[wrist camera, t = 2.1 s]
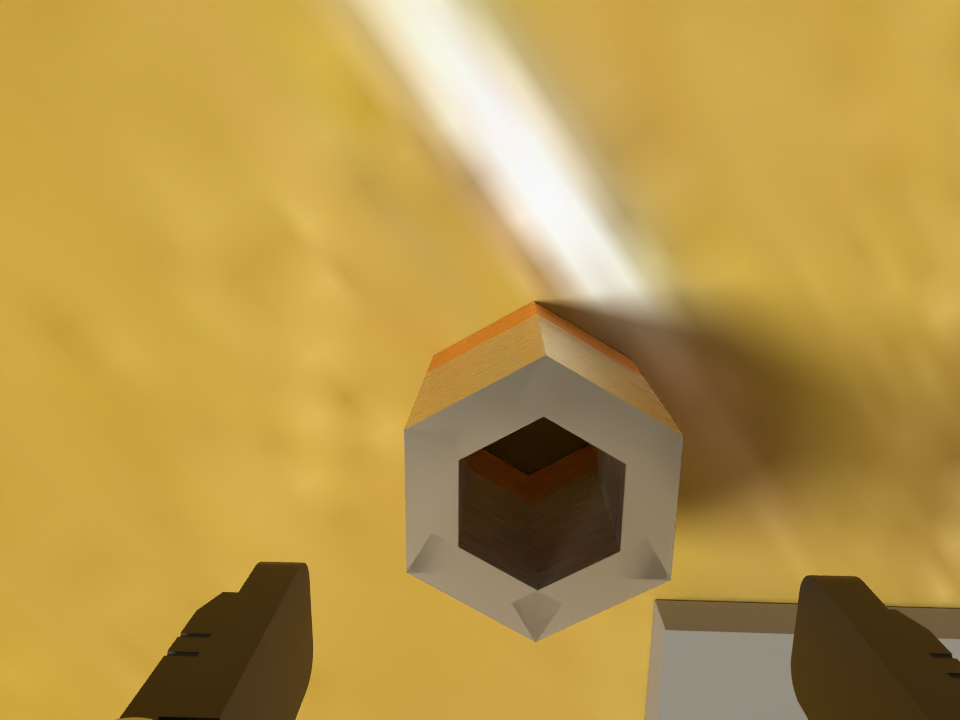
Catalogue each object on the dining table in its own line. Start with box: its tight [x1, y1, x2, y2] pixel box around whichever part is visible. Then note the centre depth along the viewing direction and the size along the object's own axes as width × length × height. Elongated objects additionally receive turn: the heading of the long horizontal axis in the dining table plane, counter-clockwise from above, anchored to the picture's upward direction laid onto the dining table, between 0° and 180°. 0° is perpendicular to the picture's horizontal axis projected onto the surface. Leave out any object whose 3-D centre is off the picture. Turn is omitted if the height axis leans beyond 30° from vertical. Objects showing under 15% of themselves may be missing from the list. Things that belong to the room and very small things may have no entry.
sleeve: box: [404, 302, 684, 642], centre depth 18 cm, size 6×6×6 cm
